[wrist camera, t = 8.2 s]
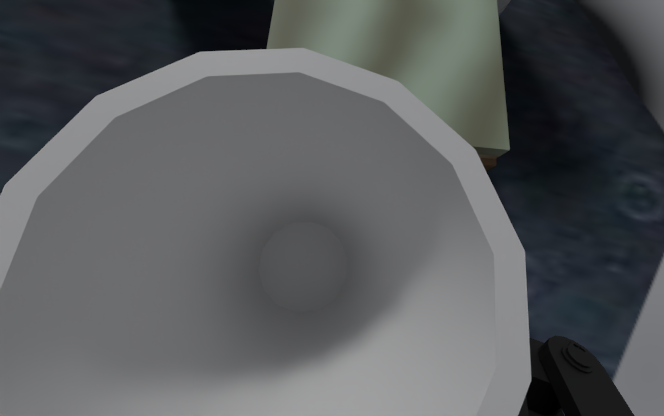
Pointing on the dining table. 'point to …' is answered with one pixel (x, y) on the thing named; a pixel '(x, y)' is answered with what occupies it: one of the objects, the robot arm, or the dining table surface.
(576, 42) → the dining table surface
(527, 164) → the dining table surface
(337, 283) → the foam cup
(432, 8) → the step block
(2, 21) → the dining table surface
